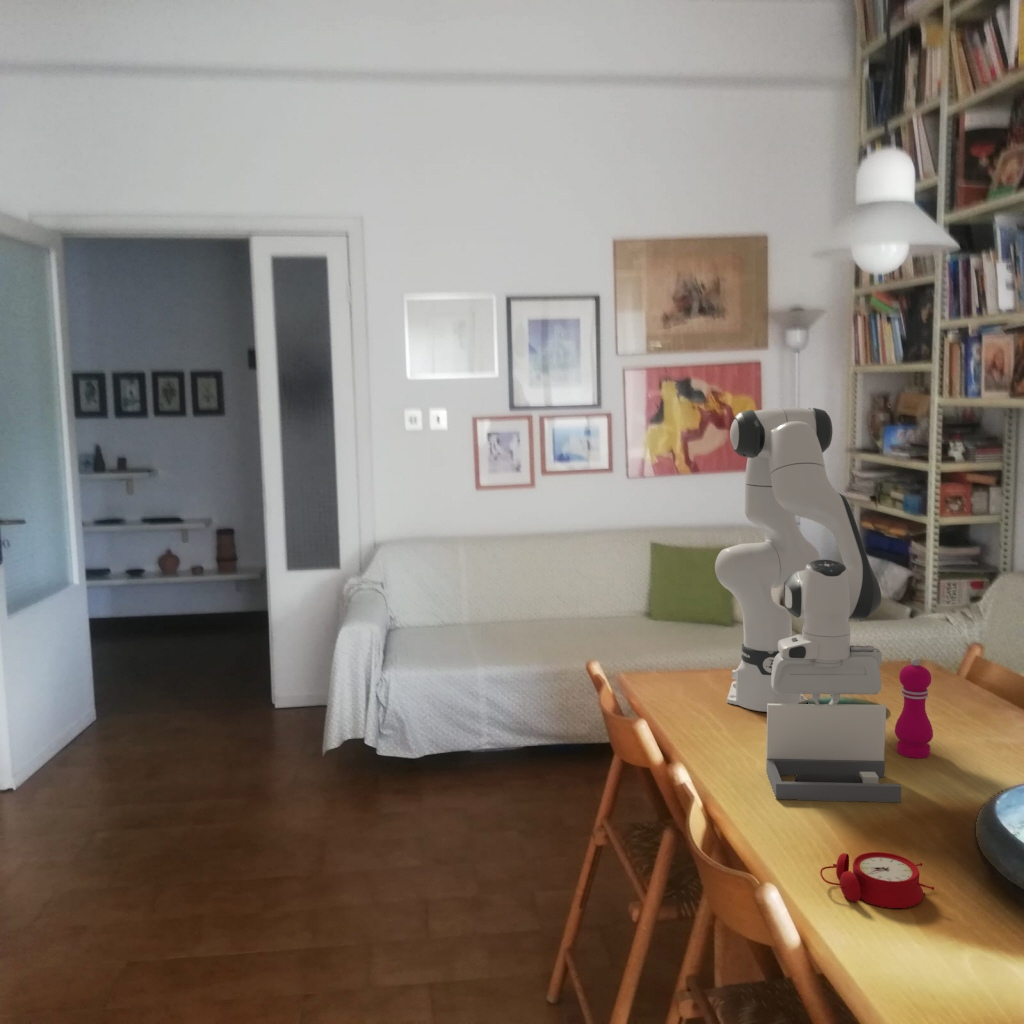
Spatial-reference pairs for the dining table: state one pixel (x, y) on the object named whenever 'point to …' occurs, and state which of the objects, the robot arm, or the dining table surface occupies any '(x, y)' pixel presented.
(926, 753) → the pepper mill
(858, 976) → the dining table surface
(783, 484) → the robot arm
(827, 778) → the white-capped dark rod
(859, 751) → the cover
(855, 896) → the alarm clock
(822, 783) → the grey flat frame
